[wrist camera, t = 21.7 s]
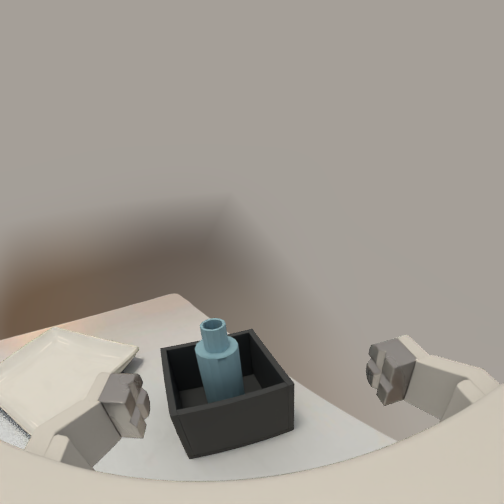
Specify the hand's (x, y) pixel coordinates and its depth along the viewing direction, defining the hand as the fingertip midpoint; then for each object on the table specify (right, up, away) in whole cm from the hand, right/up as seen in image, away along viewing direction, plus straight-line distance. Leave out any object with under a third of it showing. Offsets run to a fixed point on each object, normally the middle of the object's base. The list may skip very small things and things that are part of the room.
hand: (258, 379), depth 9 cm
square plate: (-36, -20, +28) cm, 50 cm away
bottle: (-3, -17, +25) cm, 31 cm away
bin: (-4, -18, +25) cm, 31 cm away
